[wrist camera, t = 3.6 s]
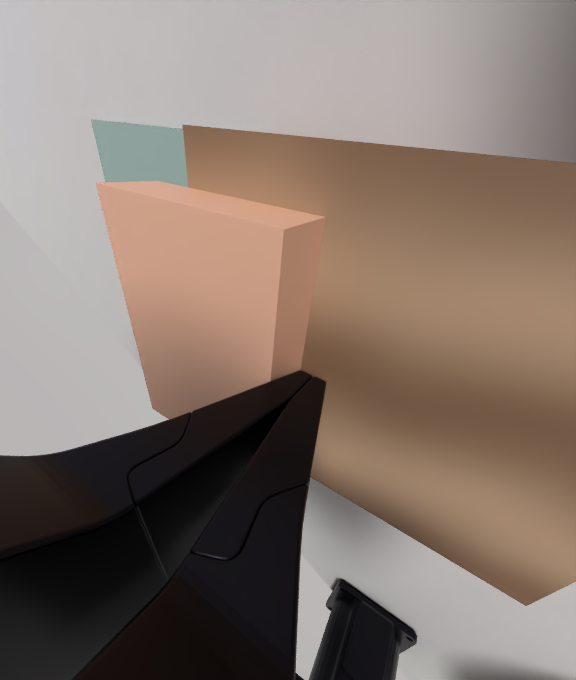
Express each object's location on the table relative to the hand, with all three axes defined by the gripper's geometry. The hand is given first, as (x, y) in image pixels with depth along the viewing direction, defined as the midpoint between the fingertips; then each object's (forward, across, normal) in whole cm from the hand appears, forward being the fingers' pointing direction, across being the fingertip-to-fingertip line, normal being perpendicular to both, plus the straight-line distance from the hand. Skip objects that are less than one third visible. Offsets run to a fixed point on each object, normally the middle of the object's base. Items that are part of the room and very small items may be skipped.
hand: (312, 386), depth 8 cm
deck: (+5, -2, 0) cm, 5 cm away
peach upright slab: (+1, +4, 0) cm, 4 cm away
